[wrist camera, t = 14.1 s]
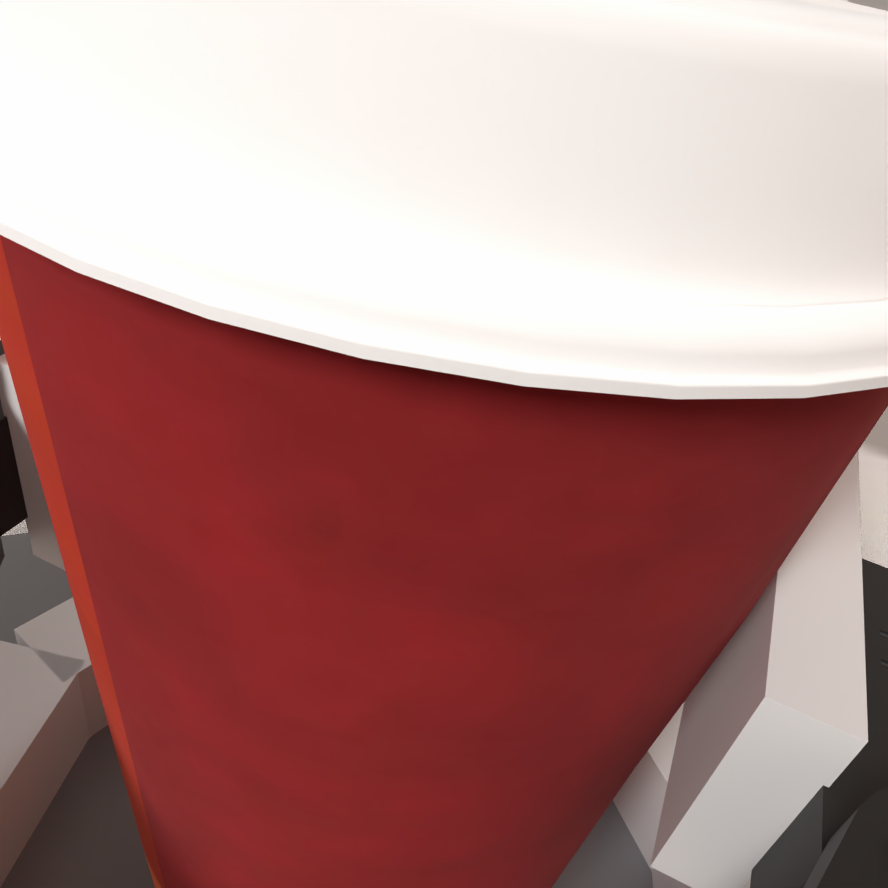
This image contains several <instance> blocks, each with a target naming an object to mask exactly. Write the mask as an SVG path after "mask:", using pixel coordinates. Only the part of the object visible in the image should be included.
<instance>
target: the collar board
mask: <svg viewBox="0 0 888 888" xmlns="http://www.w3.org/2000/svg"><path fill="white" fill-rule="evenodd" d="M1 540H2V544H3V549H4V555H5V557H4V559H3V561H2V563H1V566H0V888H155V886H154V883H153V879H152V876H151V873H150V869H149V866H148V863H147V859H146V856H145V852H144V849H143V845H142V842H141V838H140V835H139V831H138V828H137V824H136V821H135V817H134V814H133V810H132V807H131V803H130V800H129V796H128V793H127V789H126V786H125V782H124V779H123V775H122V772H121V768H120V765H119V761H118V758H117V754H116V750H115V747H114V743H113V740H112V736H111V733H110V729H109V726H108V722H107V718H106V715H105V711H104V708H103V704H102V700H101V697H100V693H99V690H98V686H97V682H96V679H95V675H94V672H93V668H92V664H91V661H90V657H89V654H88V650H87V646H86V643H85V639H84V636H83V632H82V628H81V625H80V621H79V618H78V614H77V610H76V607H75V603H74V600H73V596H72V592H71V589H70V585H69V582H68V578H67V574H66V571H64V570H62V569H60V568H58V567H56V566H54V565H52V564H50V563H48V562H46V561H44V560H43V559H41V558H39V557H37V556H35V555H33V551H32V546H31V542H30V537H29V533H24V534H16V535H8V536H1ZM684 702H685V701H684ZM683 707H684V703H683V704H682V705H681V707H680V708H679V709H678V711H677V712H676V713H675V715H674V716H673V717H672V719H671V720H670V721H669V723H668V724H667V725H666V727H665V728H664V730H663V731H662V732H661V734H660V735H659V736H658V738H657V739H656V740H655V742H654V743H653V744H652V746H651V747H650V748H649V750H648V751H647V752H646V754H645V755H644V757H643V758H642V759H641V761H640V762H639V763H638V765H637V766H636V767H635V769H634V770H633V771H632V773H631V774H630V776H629V777H628V779H627V780H626V781H625V783H624V784H623V786H622V787H621V789H620V790H619V792H618V793H617V795H616V796H615V797H614V799H613V800H612V802H611V803H610V805H609V806H608V808H607V809H606V810H605V812H604V813H603V815H602V816H601V818H600V819H599V821H598V822H597V823H596V825H595V826H594V828H593V829H592V831H591V832H590V833H589V835H588V836H587V838H586V839H585V841H584V842H583V843H582V845H581V846H580V848H579V849H578V851H577V852H576V853H575V855H574V856H573V858H572V859H571V861H570V862H569V864H568V865H567V866H566V868H565V869H564V871H563V872H562V874H561V875H560V876H559V878H558V879H557V881H556V882H555V884H554V885H553V886H552V888H692V887H690V886H688V885H686V884H684V883H682V882H680V881H678V880H676V879H674V878H672V877H670V876H668V875H666V874H664V873H662V872H660V871H658V870H656V869H654V868H652V867H650V865H651V860H652V855H653V851H654V846H655V841H656V836H657V831H658V827H659V822H660V817H661V812H662V807H663V803H664V798H665V793H666V788H667V783H668V779H669V774H670V769H671V764H672V759H673V755H674V750H675V745H676V740H677V735H678V731H679V726H680V721H681V716H682V711H683ZM750 882H751V879H750V880H749V882H748V883H747V884H746V885H745V886H744V887H743V888H750Z"/></svg>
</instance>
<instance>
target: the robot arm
mask: <svg viewBox="0 0 888 888" xmlns="http://www.w3.org/2000/svg"><path fill="white" fill-rule="evenodd" d="M24 519H26V523H27V528H28V532H29V537H30V542H31V546H32V551H33V555H35V556H37V557H39V558H41V559H43V560H44V561H46V562H48V563H50V564H52V565H54V566H56V567H58V568H60V569H62V570H64V571H65V567H64V564H63V560H62V556H61V553H60V549H59V546H58V542H57V538H56V535H55V531H54V528H53V524H52V520H51V517H50V513H49V510H48V506H47V503H46V499H45V495H44V492H43V488H42V485H41V481H40V477H39V474H38V470H37V467H36V463H35V460H34V456H33V452H32V449H31V445H30V442H29V438H28V434H27V431H26V427H25V424H24V420H23V417H22V413H21V409H20V406H19V402H18V399H17V395H16V392H15V388H14V384H13V381H12V377H11V374H10V370H9V366H8V363H7V359H6V356H5V352H4V349H3V345H2V341H1V340H0V566H1V563H2V561H3V559H4V557H5V555H4V549H3V544H2V540H1V535H3V534H4V533H6V532H7V531H9V530H10V529H11V528H13V527H14V526H16V525H17V524H19V523H20V522H22V521H23V520H24ZM650 867H652V868H654V869H656V870H658V871H660V872H662V873H664V874H666V875H668V876H670V877H672V878H674V879H676V880H678V881H680V882H682V883H684V884H686V885H688V886H690V887H692V888H743V887H744V886H745V885H746V884H747V883H748V882H749V880H750V879H751V882H750V888H888V568H885V567H883V566H880V565H877V564H875V563H872V562H870V561H867V560H864V559H862V548H861V519H860V491H859V462H858V451H857V453H856V454H855V456H854V457H853V459H852V460H851V462H850V463H849V465H848V466H847V468H846V469H845V471H844V472H843V474H842V475H841V477H840V478H839V480H838V481H837V483H836V484H835V486H834V487H833V489H832V490H831V492H830V493H829V495H828V496H827V498H826V499H825V501H824V502H823V504H822V505H821V507H820V508H819V510H818V511H817V513H816V514H815V516H814V517H813V519H812V520H811V522H810V523H809V525H808V526H807V528H806V529H805V531H804V532H803V534H802V535H801V537H800V538H799V540H798V541H797V543H796V544H795V546H794V547H793V549H792V550H791V552H790V553H789V555H788V556H787V558H786V559H785V561H784V562H783V564H782V565H781V566H780V568H779V569H778V571H777V572H776V574H775V575H774V577H773V578H772V580H771V581H770V583H769V584H768V586H767V587H766V589H765V590H764V592H763V593H762V595H761V596H760V598H759V599H758V601H757V602H756V604H755V605H754V607H753V608H752V610H751V611H750V613H749V614H748V616H747V617H746V619H745V620H744V622H743V623H742V624H741V626H740V627H739V628H738V630H737V631H736V632H735V634H734V635H733V636H732V638H731V639H730V640H729V642H728V643H727V645H726V646H725V647H724V649H723V650H722V651H721V653H720V654H719V655H718V657H717V658H716V659H715V661H714V662H713V663H712V665H711V666H710V667H709V669H708V670H707V672H706V673H705V674H704V676H703V677H702V678H701V680H700V681H699V682H698V684H697V685H696V686H695V688H694V689H693V690H692V692H691V693H690V694H689V696H688V697H687V698H686V700H685V702H684V707H683V711H682V716H681V721H680V726H679V731H678V735H677V740H676V745H675V750H674V755H673V759H672V764H671V769H670V774H669V779H668V783H667V788H666V793H665V798H664V803H663V807H662V812H661V817H660V822H659V827H658V831H657V836H656V841H655V846H654V851H653V855H652V860H651V865H650Z"/></svg>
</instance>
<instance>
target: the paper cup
mask: <svg viewBox="0 0 888 888" xmlns="http://www.w3.org/2000/svg"><path fill="white" fill-rule="evenodd" d="M0 338H1V341H2V345H3V349H4V352H5V356H6V359H7V363H8V366H9V370H10V374H11V377H12V381H13V384H14V388H15V392H16V395H17V399H18V402H19V406H20V409H21V413H22V417H23V420H24V424H25V427H26V431H27V434H28V438H29V442H30V445H31V449H32V452H33V456H34V460H35V463H36V467H37V470H38V474H39V477H40V481H41V485H42V488H43V492H44V495H45V499H46V503H47V506H48V510H49V513H50V517H51V520H52V524H53V528H54V531H55V535H56V538H57V542H58V546H59V549H60V553H61V556H62V560H63V564H64V567H65V571H66V574H67V578H68V582H69V585H70V589H71V592H72V596H73V600H74V603H75V607H76V610H77V614H78V618H79V621H80V625H81V628H82V632H83V636H84V639H85V643H86V646H87V650H88V654H89V657H90V661H91V664H92V668H93V672H94V675H95V679H96V682H97V686H98V690H99V693H100V697H101V700H102V704H103V708H104V711H105V715H106V718H107V722H108V726H109V729H110V733H111V736H112V740H113V743H114V747H115V750H116V754H117V758H118V761H119V765H120V768H121V772H122V775H123V779H124V782H125V786H126V789H127V793H128V796H129V800H130V803H131V807H132V810H133V814H134V817H135V821H136V824H137V828H138V831H139V835H140V838H141V842H142V845H143V849H144V852H145V856H146V859H147V863H148V866H149V869H150V873H151V876H152V879H153V883H154V886H155V888H552V886H553V885H554V884H555V882H556V881H557V879H558V878H559V876H560V875H561V874H562V872H563V871H564V869H565V868H566V866H567V865H568V864H569V862H570V861H571V859H572V858H573V856H574V855H575V853H576V852H577V851H578V849H579V848H580V846H581V845H582V843H583V842H584V841H585V839H586V838H587V836H588V835H589V833H590V832H591V831H592V829H593V828H594V826H595V825H596V823H597V822H598V821H599V819H600V818H601V816H602V815H603V813H604V812H605V810H606V809H607V808H608V806H609V805H610V803H611V802H612V800H613V799H614V797H615V796H616V795H617V793H618V792H619V790H620V789H621V787H622V786H623V784H624V783H625V781H626V780H627V779H628V777H629V776H630V774H631V773H632V771H633V770H634V769H635V767H636V766H637V765H638V763H639V762H640V761H641V759H642V758H643V757H644V755H645V754H646V752H647V751H648V750H649V748H650V747H651V746H652V744H653V743H654V742H655V740H656V739H657V738H658V736H659V735H660V734H661V732H662V731H663V730H664V728H665V727H666V725H667V724H668V723H669V721H670V720H671V719H672V717H673V716H674V715H675V713H676V712H677V711H678V709H679V708H680V707H681V705H682V704H683V703H684V701H685V700H686V698H687V697H688V696H689V694H690V693H691V692H692V690H693V689H694V688H695V686H696V685H697V684H698V682H699V681H700V680H701V678H702V677H703V676H704V674H705V673H706V672H707V670H708V669H709V667H710V666H711V665H712V663H713V662H714V661H715V659H716V658H717V657H718V655H719V654H720V653H721V651H722V650H723V649H724V647H725V646H726V645H727V643H728V642H729V640H730V639H731V638H732V636H733V635H734V634H735V632H736V631H737V630H738V628H739V627H740V626H741V624H742V623H743V622H744V620H745V619H746V617H747V616H748V614H749V613H750V611H751V610H752V608H753V607H754V605H755V604H756V602H757V601H758V599H759V598H760V596H761V595H762V593H763V592H764V590H765V589H766V587H767V586H768V584H769V583H770V581H771V580H772V578H773V577H774V575H775V574H776V572H777V571H778V569H779V568H780V566H781V565H782V564H783V562H784V561H785V559H786V558H787V556H788V555H789V553H790V552H791V550H792V549H793V547H794V546H795V544H796V543H797V541H798V540H799V538H800V537H801V535H802V534H803V532H804V531H805V529H806V528H807V526H808V525H809V523H810V522H811V520H812V519H813V517H814V516H815V514H816V513H817V511H818V510H819V508H820V507H821V505H822V504H823V502H824V501H825V499H826V498H827V496H828V495H829V493H830V492H831V490H832V489H833V487H834V486H835V484H836V483H837V481H838V480H839V478H840V477H841V475H842V474H843V472H844V471H845V469H846V468H847V466H848V465H849V463H850V462H851V460H852V459H853V457H854V456H855V454H856V453H857V451H858V450H859V448H860V447H861V445H862V444H863V442H864V441H865V439H866V438H867V436H868V435H869V433H870V431H871V430H872V429H873V427H874V426H875V424H876V422H877V421H878V420H879V418H880V416H881V415H882V414H883V412H884V411H885V409H886V408H887V406H888V0H0Z"/></svg>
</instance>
